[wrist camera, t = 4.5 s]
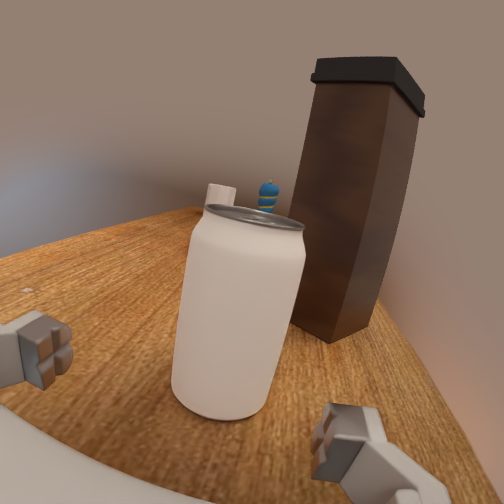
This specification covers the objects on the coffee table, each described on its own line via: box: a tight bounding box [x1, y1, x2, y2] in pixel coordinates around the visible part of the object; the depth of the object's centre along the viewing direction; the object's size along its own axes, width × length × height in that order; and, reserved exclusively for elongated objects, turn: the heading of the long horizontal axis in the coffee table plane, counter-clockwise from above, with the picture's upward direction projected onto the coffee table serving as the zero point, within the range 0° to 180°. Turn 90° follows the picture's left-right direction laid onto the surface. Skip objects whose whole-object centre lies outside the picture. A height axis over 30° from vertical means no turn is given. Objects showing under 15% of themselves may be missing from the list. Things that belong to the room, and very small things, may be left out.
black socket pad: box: [311, 57, 425, 118], centre depth 31 cm, size 10×10×3 cm
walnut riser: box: [288, 82, 419, 344], centre depth 34 cm, size 9×9×26 cm
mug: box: [203, 184, 236, 215], centre depth 100 cm, size 12×9×10 cm
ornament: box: [258, 180, 279, 213], centre depth 86 cm, size 5×5×15 cm
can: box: [171, 204, 306, 421], centre depth 19 cm, size 6×6×12 cm
